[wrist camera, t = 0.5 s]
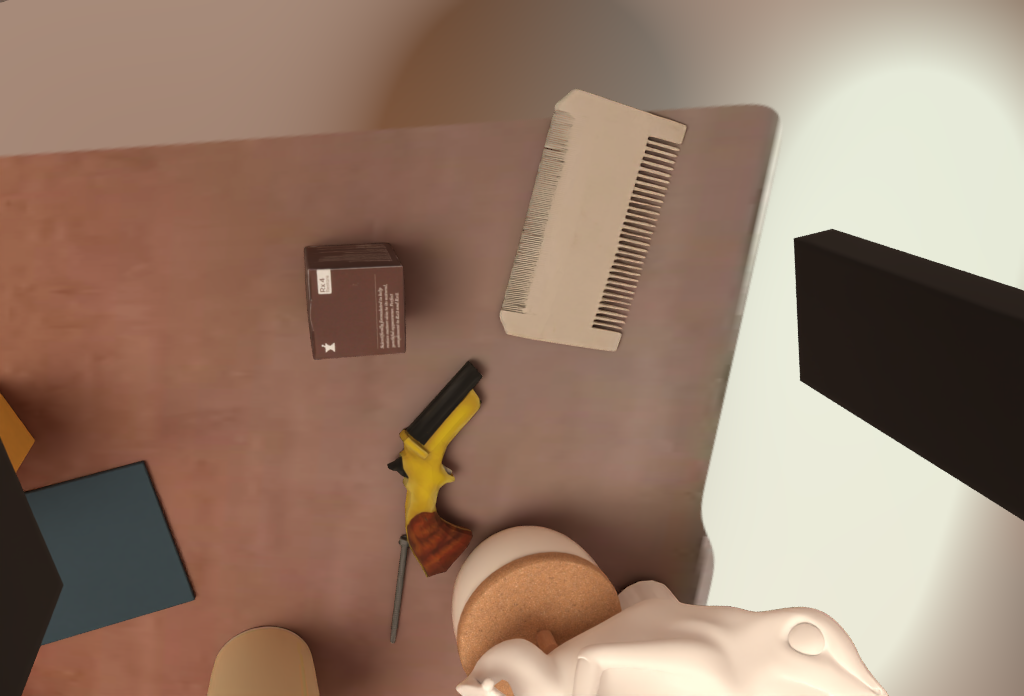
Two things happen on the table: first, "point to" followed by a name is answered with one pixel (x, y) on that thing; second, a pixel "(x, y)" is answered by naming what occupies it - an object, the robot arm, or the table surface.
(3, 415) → the cereal box
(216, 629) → the table surface
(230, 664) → the coffee cup
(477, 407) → the toy gun
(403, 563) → the screw
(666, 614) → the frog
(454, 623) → the lidded bowl
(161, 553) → the slate mat
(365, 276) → the box
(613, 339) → the grooming comb
